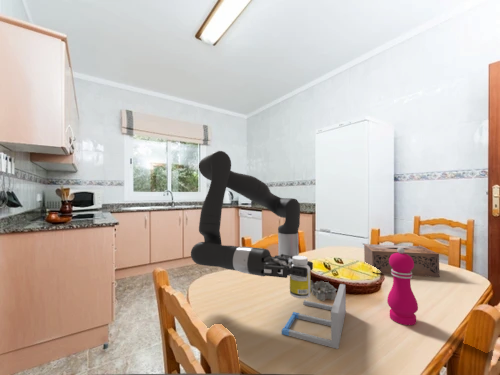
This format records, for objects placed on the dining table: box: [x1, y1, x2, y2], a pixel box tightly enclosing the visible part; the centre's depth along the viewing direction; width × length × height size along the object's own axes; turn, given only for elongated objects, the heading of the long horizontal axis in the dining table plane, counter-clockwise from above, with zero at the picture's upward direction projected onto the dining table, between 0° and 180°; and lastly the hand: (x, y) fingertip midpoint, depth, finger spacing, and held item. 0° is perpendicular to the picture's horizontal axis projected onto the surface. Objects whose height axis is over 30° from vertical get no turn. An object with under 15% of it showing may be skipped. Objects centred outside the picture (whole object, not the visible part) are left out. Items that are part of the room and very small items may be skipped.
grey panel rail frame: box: [281, 283, 347, 350], centre depth 65 cm, size 19×14×8 cm
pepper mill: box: [386, 247, 419, 326], centre depth 66 cm, size 7×7×20 cm
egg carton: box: [311, 279, 338, 302], centre depth 84 cm, size 11×8×4 cm
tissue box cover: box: [363, 243, 440, 278], centre depth 109 cm, size 26×14×10 cm, turn 77°
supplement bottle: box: [289, 255, 312, 299], centre depth 63 cm, size 5×5×10 cm
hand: (309, 269), depth 62 cm, fingers closed on supplement bottle, 5 cm apart
